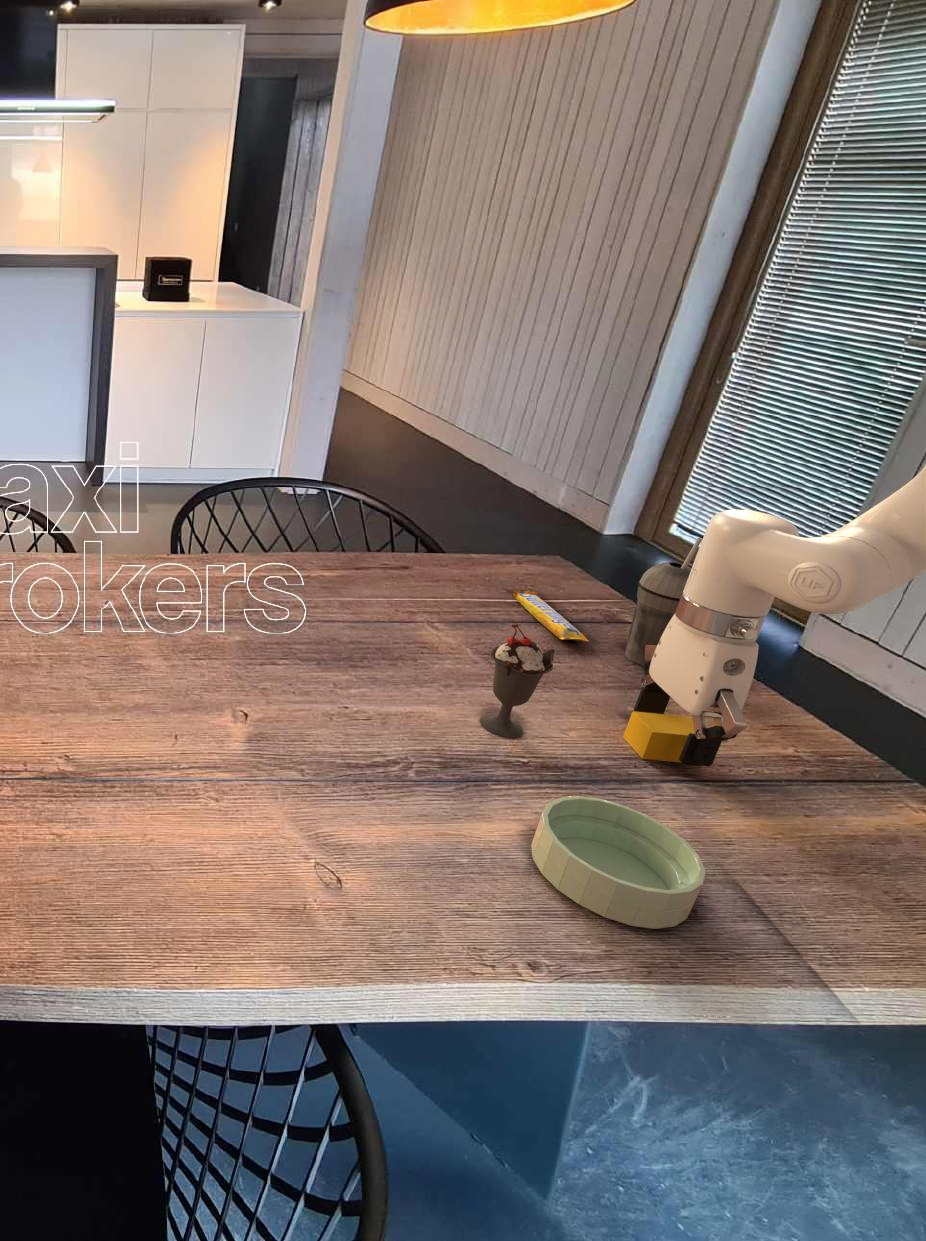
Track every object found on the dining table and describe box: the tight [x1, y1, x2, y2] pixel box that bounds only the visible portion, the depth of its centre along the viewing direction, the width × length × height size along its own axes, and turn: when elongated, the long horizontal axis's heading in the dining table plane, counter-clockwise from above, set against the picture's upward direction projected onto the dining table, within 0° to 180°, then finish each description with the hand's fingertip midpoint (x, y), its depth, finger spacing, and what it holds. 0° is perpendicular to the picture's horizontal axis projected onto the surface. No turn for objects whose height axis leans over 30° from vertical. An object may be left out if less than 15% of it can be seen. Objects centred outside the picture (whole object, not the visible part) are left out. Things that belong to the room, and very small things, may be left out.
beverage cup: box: [624, 537, 703, 666], centre depth 118 cm, size 7×7×20 cm
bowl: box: [530, 795, 707, 930], centre depth 81 cm, size 13×13×5 cm
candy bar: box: [512, 590, 593, 643], centre depth 132 cm, size 17×4×2 cm, turn 174°
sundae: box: [479, 623, 555, 739], centre depth 103 cm, size 7×7×15 cm
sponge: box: [622, 710, 695, 764], centre depth 101 cm, size 6×4×4 cm
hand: (669, 738), depth 100 cm, fingers open, 9 cm apart
